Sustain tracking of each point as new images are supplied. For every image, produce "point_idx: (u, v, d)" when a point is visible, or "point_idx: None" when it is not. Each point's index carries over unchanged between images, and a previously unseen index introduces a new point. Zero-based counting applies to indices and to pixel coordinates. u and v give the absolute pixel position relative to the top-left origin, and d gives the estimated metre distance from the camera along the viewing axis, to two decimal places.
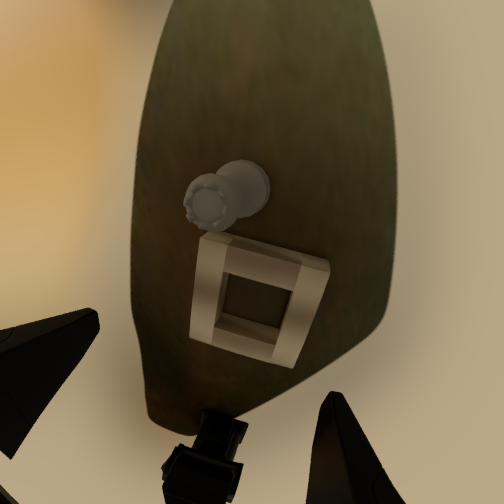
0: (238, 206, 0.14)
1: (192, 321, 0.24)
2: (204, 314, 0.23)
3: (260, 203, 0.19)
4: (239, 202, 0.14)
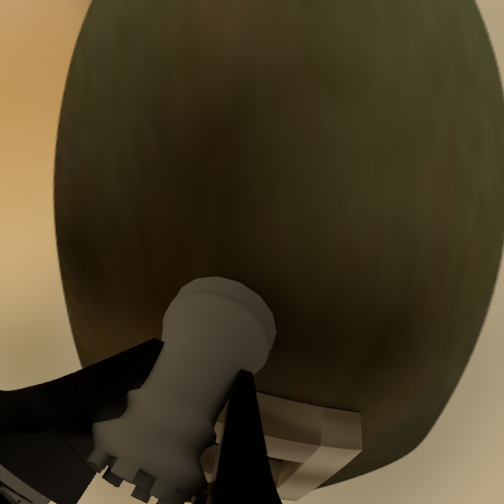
0: (203, 487, 0.04)
1: None
2: None
3: (256, 371, 0.10)
4: (204, 483, 0.04)
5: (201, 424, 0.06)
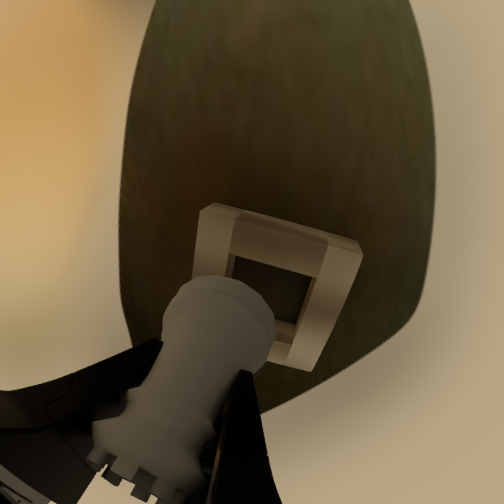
0: (202, 486, 0.04)
1: None
2: None
3: (256, 370, 0.10)
4: (204, 482, 0.04)
5: (201, 423, 0.06)
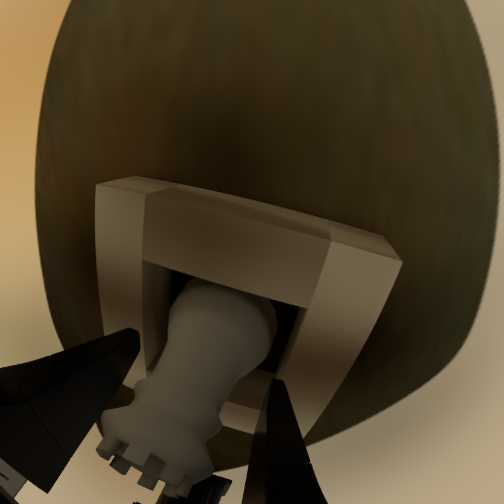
0: (209, 473, 0.05)
1: None
2: None
3: (257, 363, 0.10)
4: (210, 468, 0.05)
5: (208, 411, 0.06)
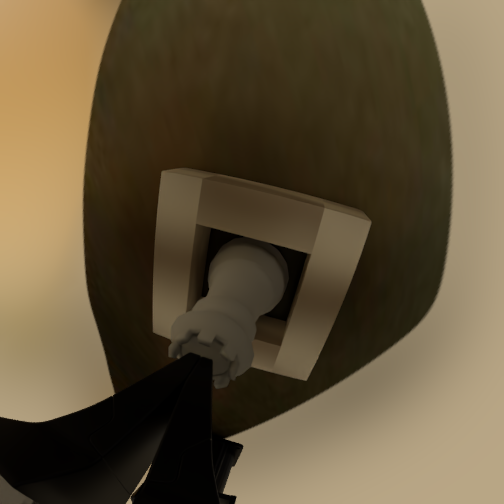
0: (250, 359, 0.09)
1: (155, 308, 0.15)
2: (171, 296, 0.15)
3: (275, 304, 0.14)
4: (252, 354, 0.09)
5: (248, 317, 0.10)
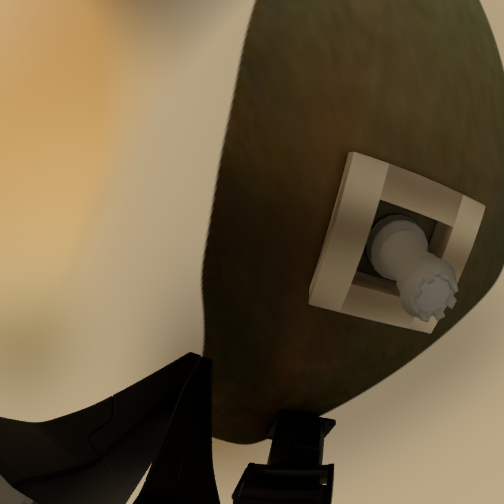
0: None
1: (320, 278, 0.17)
2: (342, 265, 0.16)
3: None
4: None
5: None
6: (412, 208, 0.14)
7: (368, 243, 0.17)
